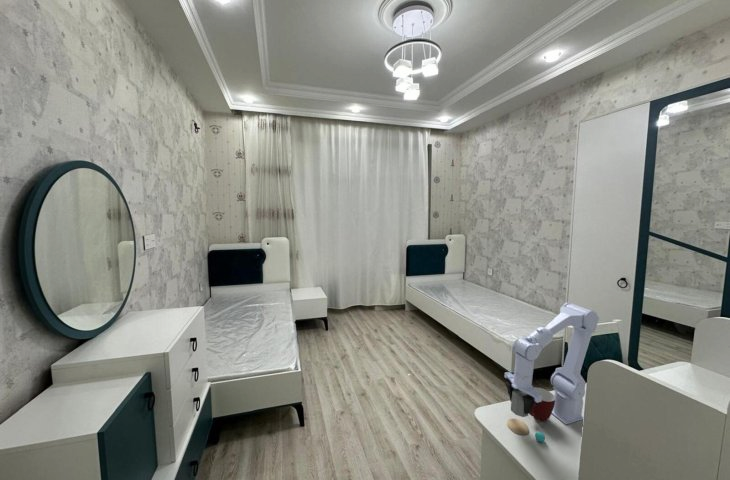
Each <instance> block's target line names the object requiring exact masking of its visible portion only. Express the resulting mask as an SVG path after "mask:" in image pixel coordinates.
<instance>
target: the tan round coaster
mask: <svg viewBox="0 0 730 480" xmlns="http://www.w3.org/2000/svg"><path fill="white" fill-rule="evenodd" d="M506 423H507V424H506V425H507V427H508V429H509V430H510V431H511V432H513V433H515V434H518V435H521V436H524V435H528V433H529V431H530V428H529V425H527V423H525V422H524V421H523V420H520V419H517V418H509V419H507V422H506Z"/></svg>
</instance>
